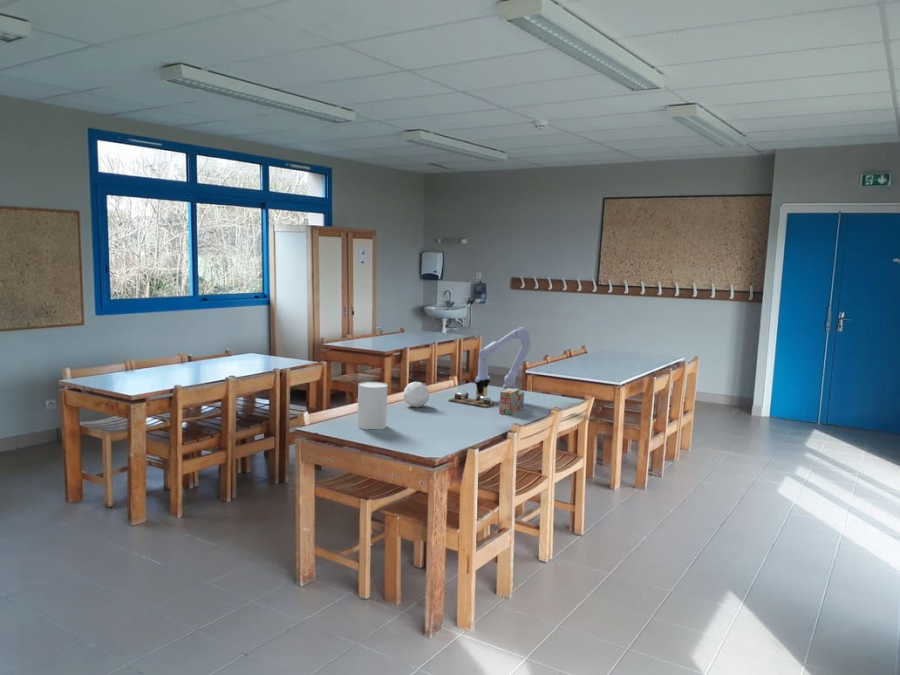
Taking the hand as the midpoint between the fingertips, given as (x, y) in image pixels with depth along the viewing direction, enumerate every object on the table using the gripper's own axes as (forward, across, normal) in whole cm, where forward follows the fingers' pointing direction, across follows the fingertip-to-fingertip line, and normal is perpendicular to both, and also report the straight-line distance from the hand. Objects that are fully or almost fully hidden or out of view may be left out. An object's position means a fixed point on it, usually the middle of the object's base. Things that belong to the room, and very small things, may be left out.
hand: (481, 392), depth 387 cm
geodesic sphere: (+4, +41, -18) cm, 45 cm away
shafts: (+2, +11, 0) cm, 11 cm away
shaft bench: (+4, +11, 0) cm, 12 cm away
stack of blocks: (+5, +13, +26) cm, 29 cm away
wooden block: (+2, 0, 0) cm, 2 cm away
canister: (+4, +90, -10) cm, 91 cm away
